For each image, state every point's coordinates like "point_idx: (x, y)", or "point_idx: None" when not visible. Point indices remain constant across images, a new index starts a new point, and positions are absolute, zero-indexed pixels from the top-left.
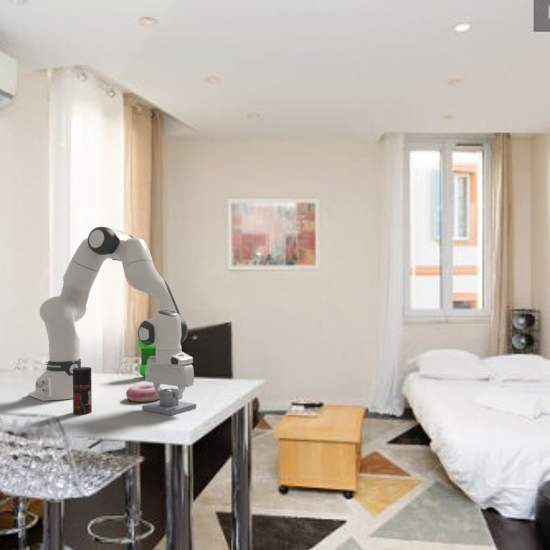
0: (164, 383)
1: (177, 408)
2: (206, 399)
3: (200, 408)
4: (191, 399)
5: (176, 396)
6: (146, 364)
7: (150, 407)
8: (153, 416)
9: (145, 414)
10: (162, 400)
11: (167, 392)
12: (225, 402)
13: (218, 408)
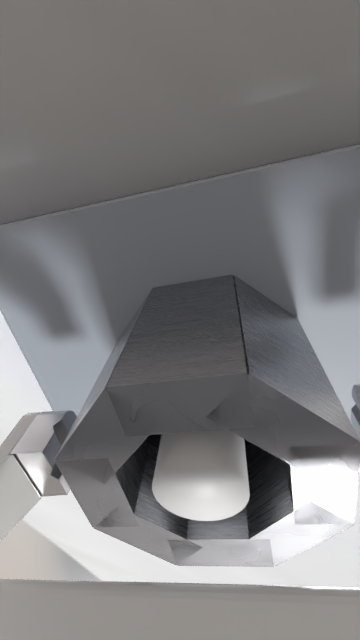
0: (196, 609)
1: (27, 327)
2: (238, 569)
3: None
4: None
5: (44, 427)
6: None
7: (274, 165)
8: (57, 58)
9: (209, 34)
10: (184, 311)
11: (89, 412)
12: (111, 566)
13: None
